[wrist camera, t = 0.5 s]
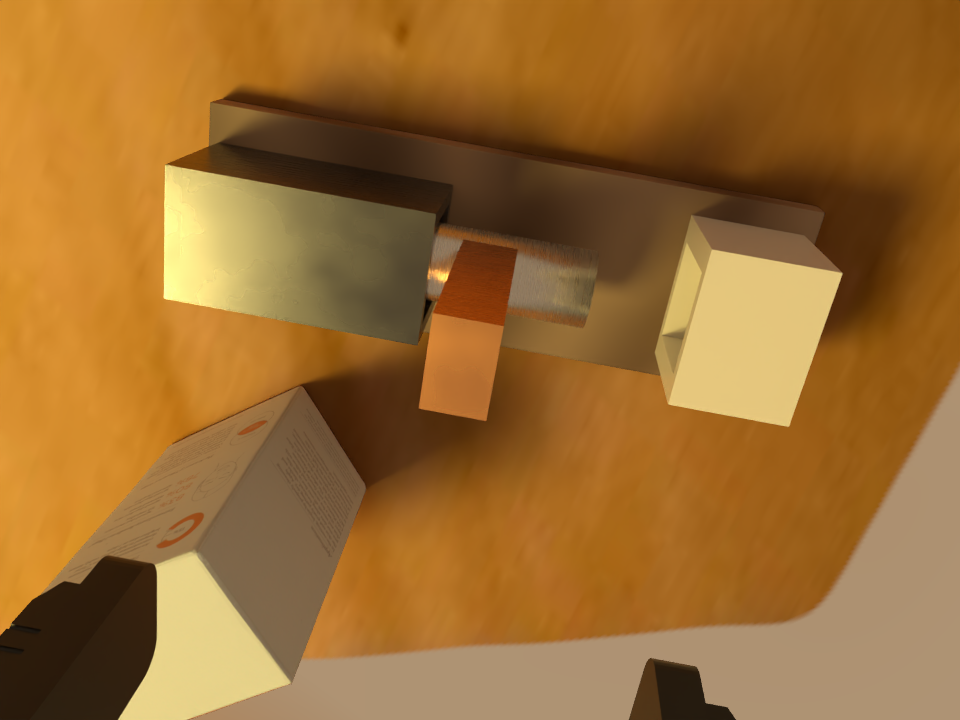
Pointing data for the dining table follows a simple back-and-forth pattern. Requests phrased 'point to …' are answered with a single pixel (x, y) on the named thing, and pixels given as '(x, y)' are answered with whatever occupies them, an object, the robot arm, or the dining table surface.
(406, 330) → the dark hollow rectangular block
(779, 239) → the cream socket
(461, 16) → the dining table surface
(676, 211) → the walnut board
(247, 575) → the small box
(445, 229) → the sliding bolt
